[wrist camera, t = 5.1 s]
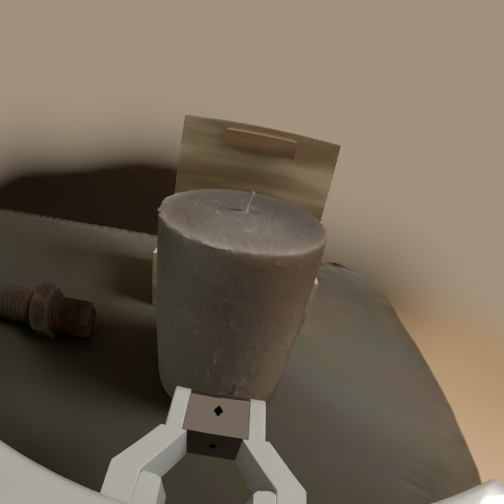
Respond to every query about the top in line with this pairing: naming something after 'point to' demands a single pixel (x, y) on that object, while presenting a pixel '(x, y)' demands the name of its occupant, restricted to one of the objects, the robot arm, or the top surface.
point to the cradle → (254, 167)
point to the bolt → (47, 310)
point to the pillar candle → (232, 289)
